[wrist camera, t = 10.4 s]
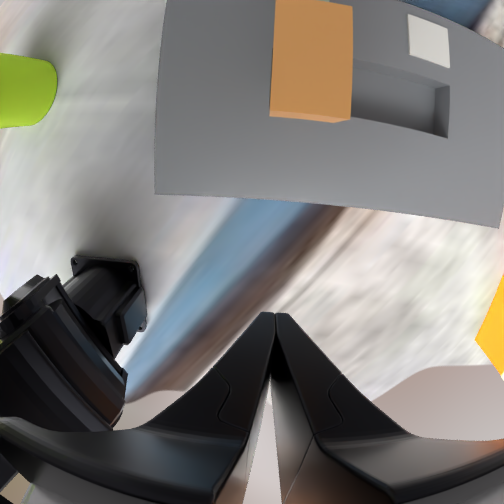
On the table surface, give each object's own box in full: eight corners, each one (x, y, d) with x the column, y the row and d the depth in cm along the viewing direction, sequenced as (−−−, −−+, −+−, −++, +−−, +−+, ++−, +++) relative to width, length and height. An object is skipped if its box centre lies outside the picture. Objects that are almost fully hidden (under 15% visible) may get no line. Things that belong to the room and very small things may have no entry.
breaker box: (170, 186, 20) (153, 195, 17) (182, -1, 15) (169, -19, 12) (477, 217, 19) (500, 229, 16) (487, 56, 14) (511, 51, 11)
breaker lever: (269, 121, 17) (269, 110, 10) (273, 45, 15) (275, -4, 8) (319, 126, 17) (350, 119, 10) (322, 51, 15) (352, 6, 8)
